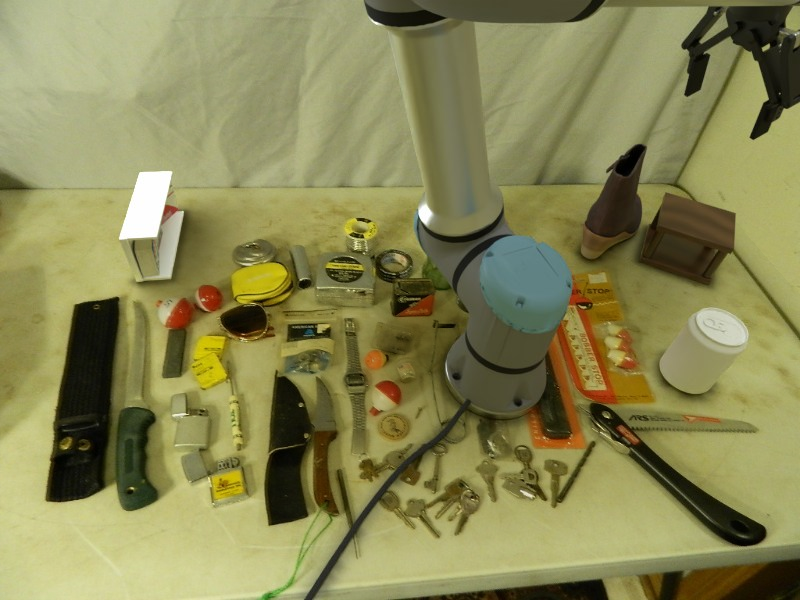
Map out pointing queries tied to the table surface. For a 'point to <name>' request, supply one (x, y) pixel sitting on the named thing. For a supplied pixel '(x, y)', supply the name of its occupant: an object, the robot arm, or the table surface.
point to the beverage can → (703, 350)
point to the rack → (688, 238)
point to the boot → (615, 205)
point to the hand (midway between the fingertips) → (723, 112)
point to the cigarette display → (152, 227)
